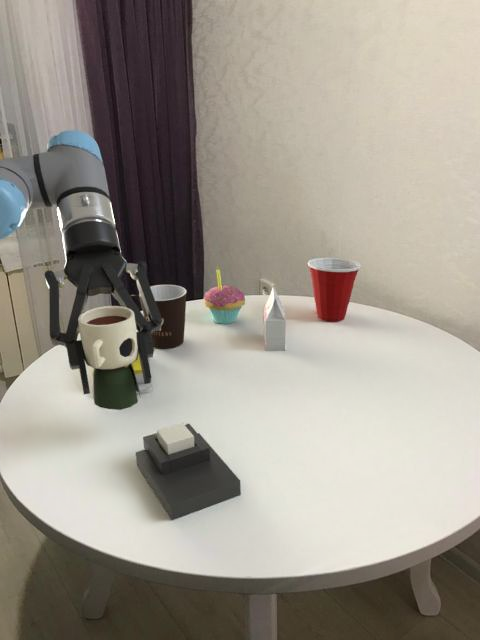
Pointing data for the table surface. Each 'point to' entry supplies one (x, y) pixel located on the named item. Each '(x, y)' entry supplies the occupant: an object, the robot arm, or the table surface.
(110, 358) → the character mug
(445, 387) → the table surface
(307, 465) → the table surface
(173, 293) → the coffee mug
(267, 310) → the small milk carton
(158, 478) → the button base
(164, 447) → the small white rectangular block
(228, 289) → the cupcake
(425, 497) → the table surface
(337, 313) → the plastic cup
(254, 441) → the table surface
